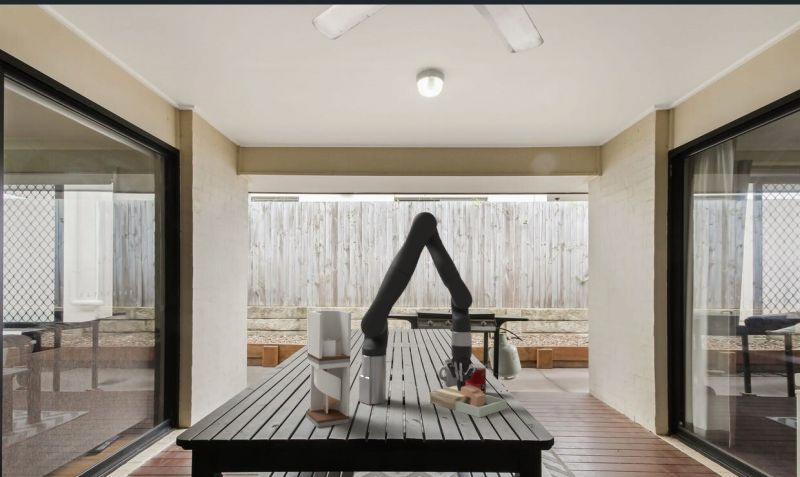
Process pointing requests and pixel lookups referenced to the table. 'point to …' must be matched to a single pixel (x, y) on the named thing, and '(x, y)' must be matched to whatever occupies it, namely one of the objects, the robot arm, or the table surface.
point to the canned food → (478, 378)
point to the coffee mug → (447, 375)
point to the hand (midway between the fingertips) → (461, 390)
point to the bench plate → (448, 397)
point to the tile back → (469, 390)
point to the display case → (329, 367)
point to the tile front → (478, 399)
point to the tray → (493, 407)
